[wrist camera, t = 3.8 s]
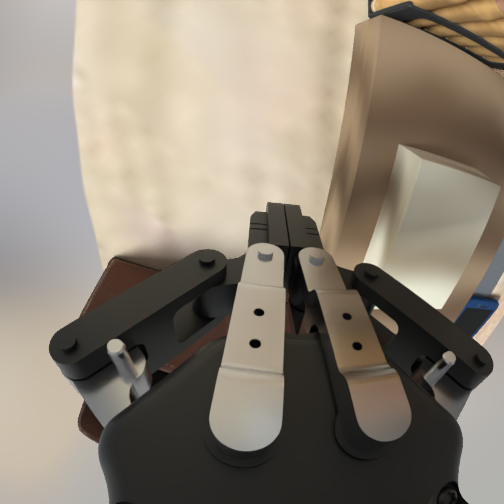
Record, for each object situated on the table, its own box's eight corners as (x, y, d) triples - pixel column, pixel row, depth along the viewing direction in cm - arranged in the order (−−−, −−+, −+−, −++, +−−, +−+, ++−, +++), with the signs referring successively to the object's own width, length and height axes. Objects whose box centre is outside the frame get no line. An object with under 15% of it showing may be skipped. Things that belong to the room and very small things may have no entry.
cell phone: (402, 368, 31) (404, 373, 31) (466, 293, 23) (469, 298, 23) (438, 366, 32) (440, 370, 31) (498, 298, 24) (501, 303, 23)
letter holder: (288, 366, 31) (292, 483, 19) (115, 324, 28) (73, 440, 16) (330, 311, 25) (356, 461, 14) (112, 253, 22) (36, 401, 11)
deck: (355, 25, 12) (381, 14, 8) (509, 97, 12) (543, 109, 9) (300, 304, 24) (305, 341, 21) (429, 307, 25) (443, 337, 22)
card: (399, 143, 12) (422, 159, 10) (476, 168, 12) (501, 186, 10) (356, 280, 17) (365, 308, 15) (427, 284, 18) (441, 308, 16)
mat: (507, 107, 13) (508, 108, 12) (552, 142, 13) (553, 143, 13) (433, 300, 24) (434, 302, 24) (484, 300, 24) (485, 301, 24)
